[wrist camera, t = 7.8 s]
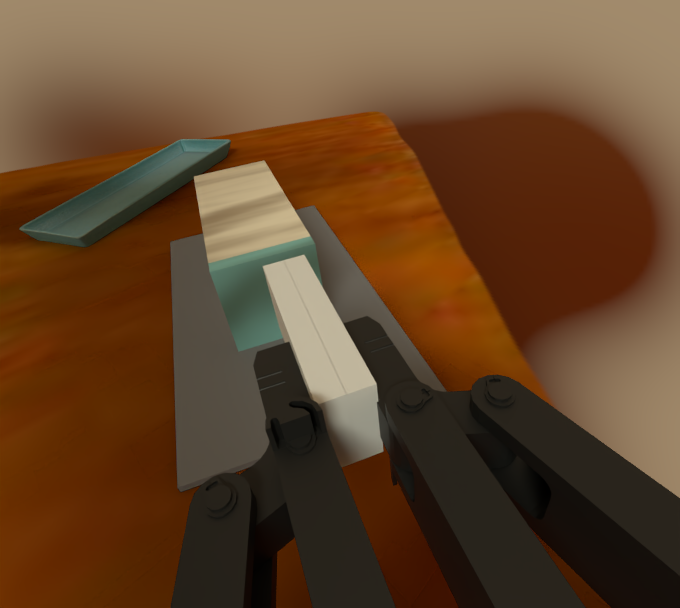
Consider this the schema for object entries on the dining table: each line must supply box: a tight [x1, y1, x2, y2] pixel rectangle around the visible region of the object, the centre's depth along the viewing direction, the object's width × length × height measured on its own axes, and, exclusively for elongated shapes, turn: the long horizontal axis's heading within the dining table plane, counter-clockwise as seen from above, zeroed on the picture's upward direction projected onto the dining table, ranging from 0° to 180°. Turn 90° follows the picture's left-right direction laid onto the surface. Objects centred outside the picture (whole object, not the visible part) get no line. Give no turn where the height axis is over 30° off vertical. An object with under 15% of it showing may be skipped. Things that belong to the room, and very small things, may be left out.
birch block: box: [194, 161, 323, 352], centre depth 32 cm, size 6×6×16 cm
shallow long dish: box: [19, 139, 231, 247], centre depth 52 cm, size 26×9×2 cm, turn 157°
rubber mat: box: [170, 206, 447, 492], centre depth 32 cm, size 26×14×1 cm, turn 18°
